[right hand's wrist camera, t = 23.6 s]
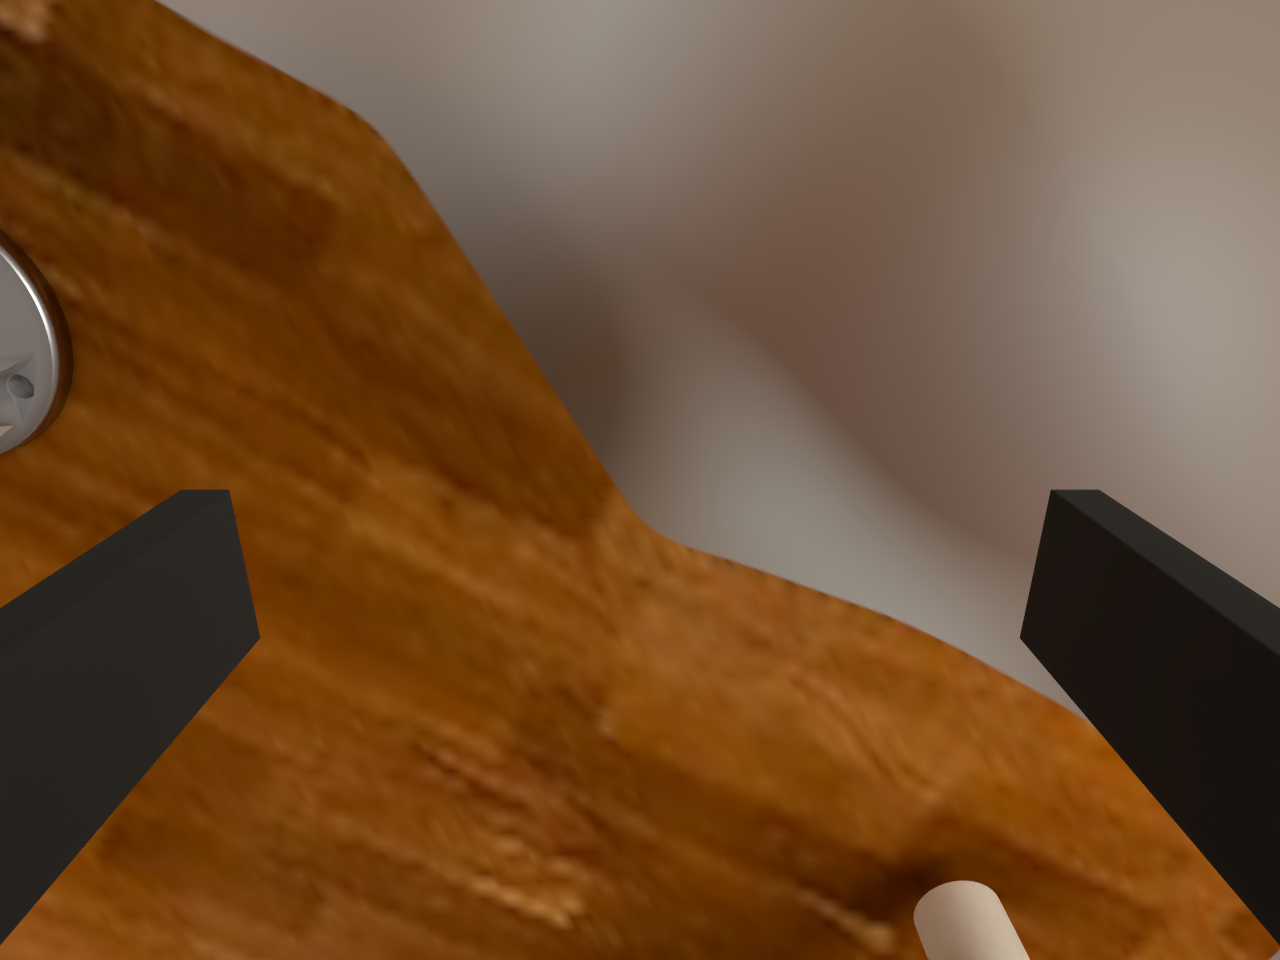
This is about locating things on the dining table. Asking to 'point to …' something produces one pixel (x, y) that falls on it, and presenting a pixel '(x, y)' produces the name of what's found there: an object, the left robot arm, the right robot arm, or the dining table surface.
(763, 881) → the dining table surface
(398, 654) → the dining table surface
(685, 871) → the dining table surface
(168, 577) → the right robot arm
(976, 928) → the canister
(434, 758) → the dining table surface
